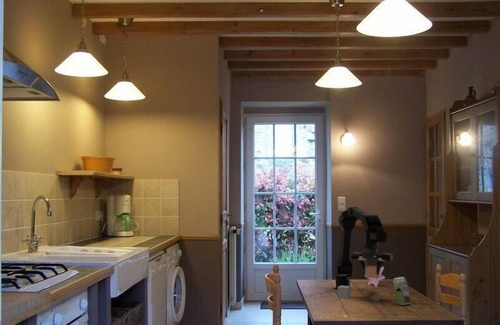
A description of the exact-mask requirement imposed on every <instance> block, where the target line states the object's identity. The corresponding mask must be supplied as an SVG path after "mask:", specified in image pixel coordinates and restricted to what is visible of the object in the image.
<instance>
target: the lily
mask: <svg viewBox="0 0 500 325" xmlns="http://www.w3.org/2000/svg"><path fill="white" fill-rule="evenodd" d="M384 268H385V266H382V267H381V270H380V273H379V277H378V278H367V279H368V283H367V286H370V285H371V284H373V285H374V287H375V288H377V287H378V285H379V283H381V281H380V280H384V279H385V278H386V276H384V275H383V274H382V273H383V271H384Z"/></svg>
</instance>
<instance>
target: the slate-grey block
mask: <svg viewBox="0 0 500 325" xmlns="http://www.w3.org/2000/svg"><path fill="white" fill-rule="evenodd" d="M351 297H352V286H351V285H350V286H339V287H338V289H337V298H339V299H349V298H351Z"/></svg>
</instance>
